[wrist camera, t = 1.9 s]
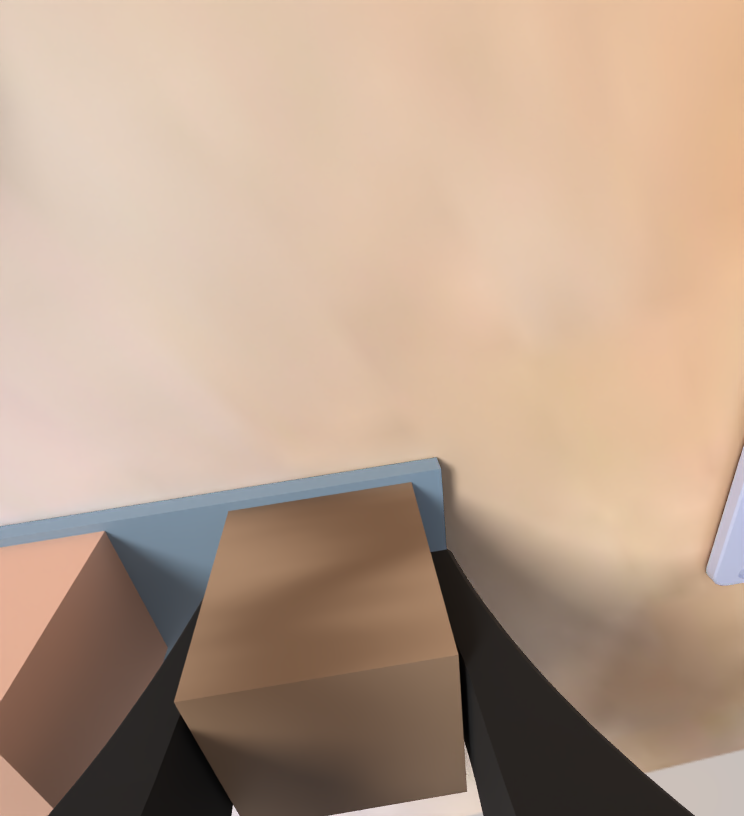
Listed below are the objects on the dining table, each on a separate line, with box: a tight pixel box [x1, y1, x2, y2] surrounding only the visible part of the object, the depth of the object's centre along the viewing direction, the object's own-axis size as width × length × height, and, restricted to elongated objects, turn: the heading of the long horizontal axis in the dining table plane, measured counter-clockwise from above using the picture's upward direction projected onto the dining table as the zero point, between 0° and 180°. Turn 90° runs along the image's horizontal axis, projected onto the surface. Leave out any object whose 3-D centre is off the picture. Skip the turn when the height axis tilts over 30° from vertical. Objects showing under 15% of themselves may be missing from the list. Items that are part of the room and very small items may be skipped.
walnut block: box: [174, 482, 467, 816], centre depth 10 cm, size 4×4×4 cm
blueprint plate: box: [0, 457, 447, 662], centre depth 14 cm, size 13×12×1 cm
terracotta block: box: [0, 531, 168, 816], centre depth 10 cm, size 4×4×4 cm
